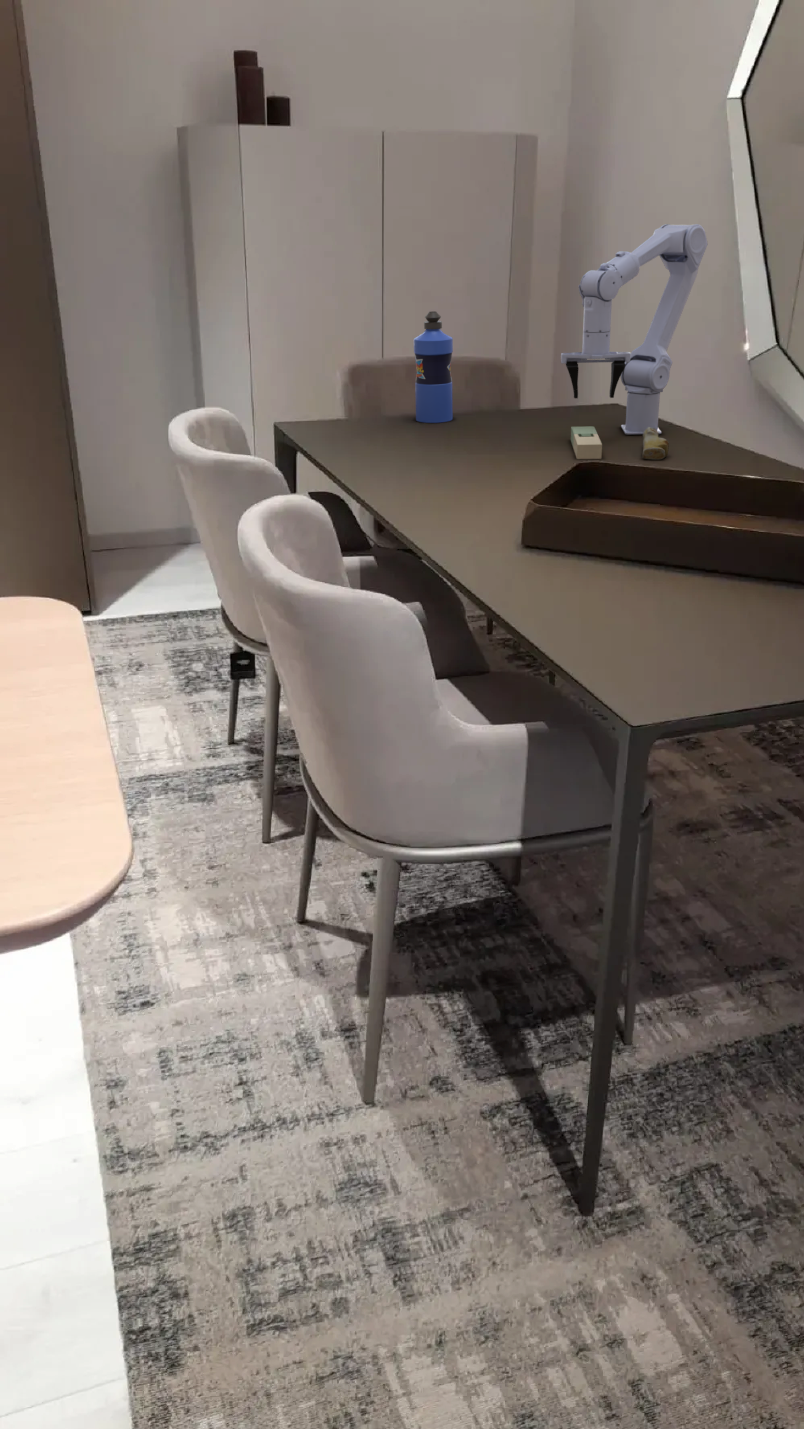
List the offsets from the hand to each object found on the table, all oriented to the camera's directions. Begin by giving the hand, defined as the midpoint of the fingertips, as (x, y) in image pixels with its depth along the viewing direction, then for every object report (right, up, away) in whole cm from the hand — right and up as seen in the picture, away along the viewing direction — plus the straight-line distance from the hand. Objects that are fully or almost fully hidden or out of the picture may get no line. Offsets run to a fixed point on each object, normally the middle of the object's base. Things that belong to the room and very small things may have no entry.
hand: (593, 397), depth 238 cm
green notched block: (-2, -10, +1) cm, 10 cm away
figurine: (+11, -14, -8) cm, 20 cm away
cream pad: (-3, -14, -7) cm, 16 cm away
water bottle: (-34, +4, +33) cm, 47 cm away
